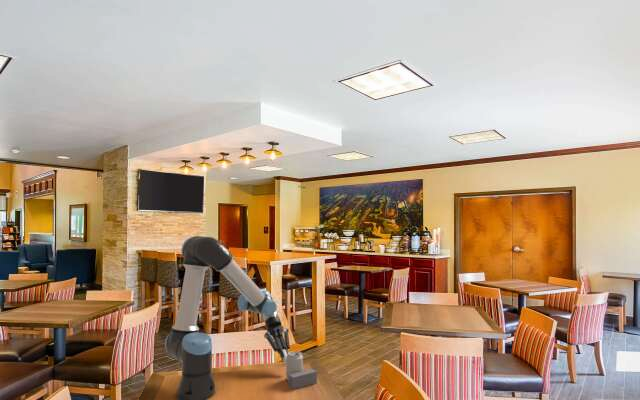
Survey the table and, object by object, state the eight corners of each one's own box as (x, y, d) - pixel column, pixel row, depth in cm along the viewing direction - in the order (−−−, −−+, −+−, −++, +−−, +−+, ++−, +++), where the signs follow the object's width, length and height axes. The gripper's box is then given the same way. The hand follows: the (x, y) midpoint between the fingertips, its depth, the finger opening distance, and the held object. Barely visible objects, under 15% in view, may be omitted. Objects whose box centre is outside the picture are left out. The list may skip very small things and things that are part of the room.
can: (302, 383, 174) (302, 355, 174) (285, 383, 174) (285, 355, 175) (303, 377, 181) (303, 350, 182) (287, 376, 182) (287, 350, 182)
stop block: (293, 389, 168) (293, 377, 168) (288, 386, 171) (288, 374, 171) (316, 383, 174) (316, 371, 175) (311, 380, 178) (311, 368, 178)
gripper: (280, 321, 205) (296, 364, 190) (257, 325, 198) (272, 370, 183) (285, 313, 201) (302, 356, 186) (262, 317, 194) (277, 362, 179)
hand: (287, 363), depth 185 cm, fingers closed
